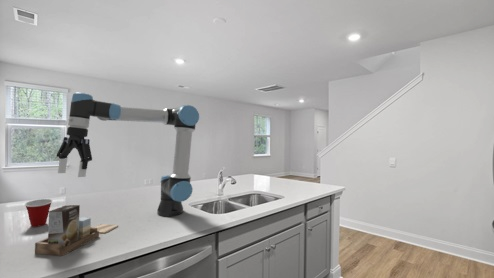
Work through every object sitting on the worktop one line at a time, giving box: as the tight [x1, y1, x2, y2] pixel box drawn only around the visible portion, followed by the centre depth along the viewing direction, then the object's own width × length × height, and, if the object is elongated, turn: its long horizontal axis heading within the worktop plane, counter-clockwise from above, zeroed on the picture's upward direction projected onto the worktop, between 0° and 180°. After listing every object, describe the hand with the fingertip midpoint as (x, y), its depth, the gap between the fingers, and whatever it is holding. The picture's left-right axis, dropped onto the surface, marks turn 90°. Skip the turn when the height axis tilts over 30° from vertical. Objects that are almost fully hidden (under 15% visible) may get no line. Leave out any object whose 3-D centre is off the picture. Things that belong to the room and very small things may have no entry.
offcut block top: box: [79, 216, 92, 228], centre depth 103 cm, size 6×4×3 cm, turn 81°
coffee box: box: [47, 204, 81, 248], centre depth 95 cm, size 9×6×16 cm
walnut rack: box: [34, 226, 100, 257], centre depth 97 cm, size 12×18×4 cm, turn 171°
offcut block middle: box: [79, 224, 92, 235], centre depth 103 cm, size 6×4×3 cm, turn 81°
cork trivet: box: [93, 223, 119, 234], centre depth 114 cm, size 10×9×1 cm
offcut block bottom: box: [79, 232, 90, 240], centre depth 103 cm, size 6×4×3 cm, turn 81°
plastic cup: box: [24, 198, 53, 228], centre depth 118 cm, size 11×11×12 cm
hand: (71, 174), depth 102 cm, fingers open, 13 cm apart
